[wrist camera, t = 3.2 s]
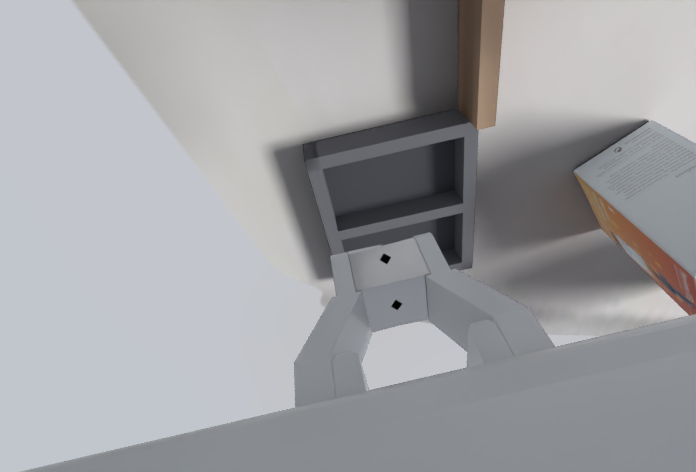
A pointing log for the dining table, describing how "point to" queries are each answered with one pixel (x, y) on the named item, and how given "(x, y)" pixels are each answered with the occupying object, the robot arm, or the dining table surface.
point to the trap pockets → (399, 185)
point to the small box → (649, 205)
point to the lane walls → (479, 59)
